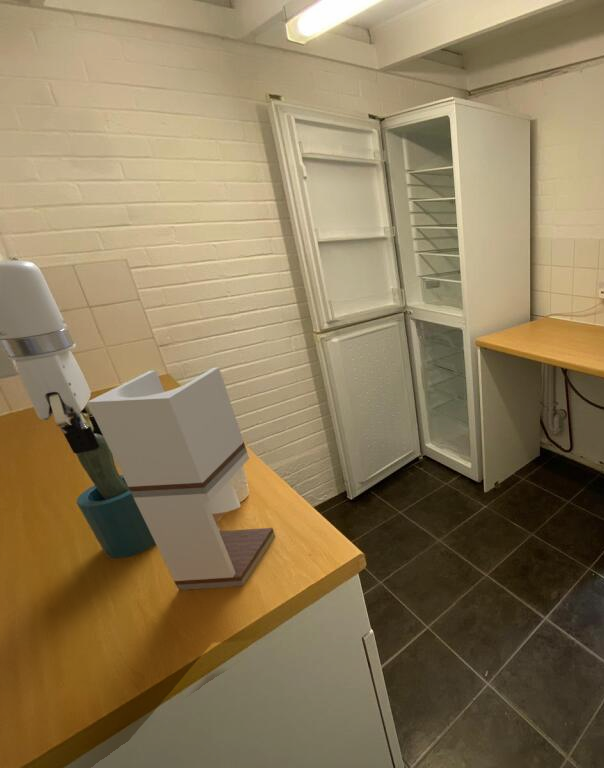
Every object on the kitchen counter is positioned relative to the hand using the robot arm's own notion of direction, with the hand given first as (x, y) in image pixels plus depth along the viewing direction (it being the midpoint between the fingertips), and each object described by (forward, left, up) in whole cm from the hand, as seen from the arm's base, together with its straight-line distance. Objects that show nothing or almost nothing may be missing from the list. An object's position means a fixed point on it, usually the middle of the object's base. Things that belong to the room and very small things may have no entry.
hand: (89, 443), depth 72 cm
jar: (0, 0, -22) cm, 22 cm away
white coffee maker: (+17, -15, -22) cm, 31 cm away
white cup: (+15, +6, -22) cm, 27 cm away
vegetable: (0, 0, -15) cm, 15 cm away
